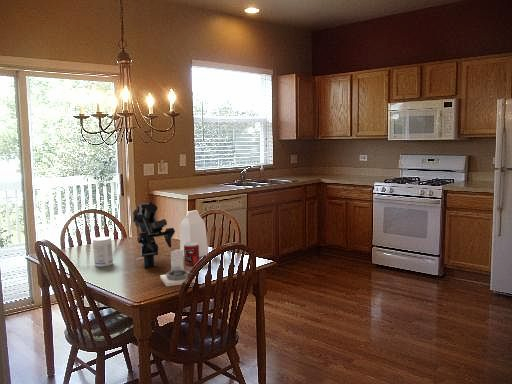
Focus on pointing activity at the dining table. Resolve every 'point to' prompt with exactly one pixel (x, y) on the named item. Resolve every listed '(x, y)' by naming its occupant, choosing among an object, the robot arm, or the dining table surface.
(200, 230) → the milk
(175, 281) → the flange plate
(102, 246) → the supplement tub
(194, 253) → the canned food
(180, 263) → the tube
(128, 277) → the dining table surface
